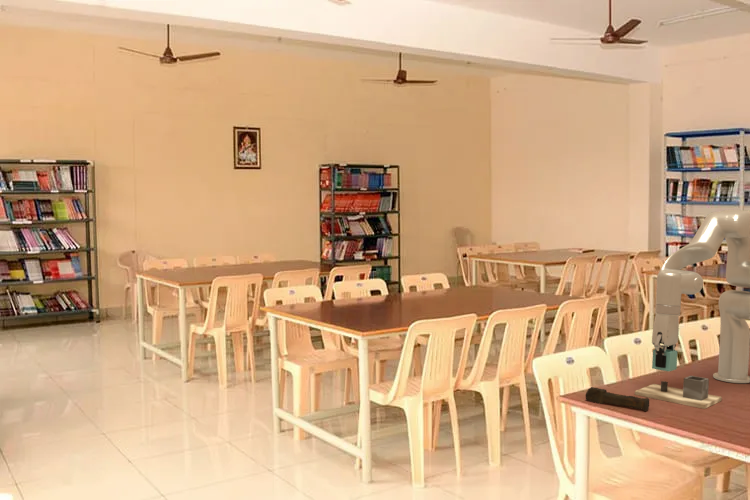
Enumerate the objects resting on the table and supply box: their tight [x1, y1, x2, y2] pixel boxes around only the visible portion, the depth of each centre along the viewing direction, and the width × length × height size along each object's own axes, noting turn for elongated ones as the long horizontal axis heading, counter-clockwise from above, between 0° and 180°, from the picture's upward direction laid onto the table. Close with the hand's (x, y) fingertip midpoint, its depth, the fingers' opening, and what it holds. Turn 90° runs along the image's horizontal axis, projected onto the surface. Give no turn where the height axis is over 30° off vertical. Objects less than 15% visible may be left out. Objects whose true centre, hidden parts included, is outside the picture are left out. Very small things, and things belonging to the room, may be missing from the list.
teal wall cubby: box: [651, 347, 679, 372], centre depth 241 cm, size 6×6×6 cm
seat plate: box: [634, 375, 723, 410], centre depth 239 cm, size 14×22×7 cm, turn 46°
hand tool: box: [585, 386, 650, 413], centre depth 228 cm, size 19×4×5 cm, turn 53°
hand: (664, 365), depth 241 cm, fingers closed on teal wall cubby, 5 cm apart
